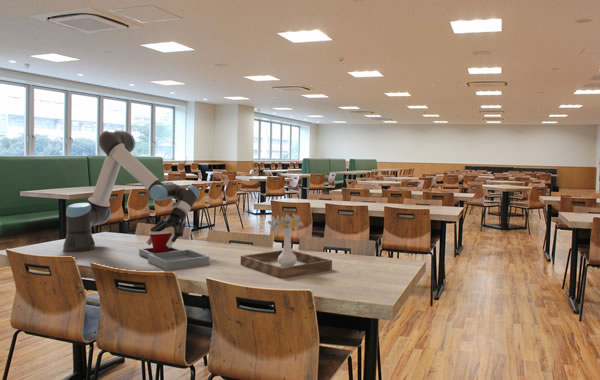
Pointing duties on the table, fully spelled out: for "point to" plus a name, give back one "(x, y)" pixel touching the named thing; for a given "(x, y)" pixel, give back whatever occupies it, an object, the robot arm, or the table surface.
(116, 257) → the table surface
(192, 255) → the tray
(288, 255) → the flower vase
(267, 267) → the frame
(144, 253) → the square collar
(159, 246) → the plastic cup
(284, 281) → the table surface
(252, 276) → the table surface
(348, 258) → the table surface
